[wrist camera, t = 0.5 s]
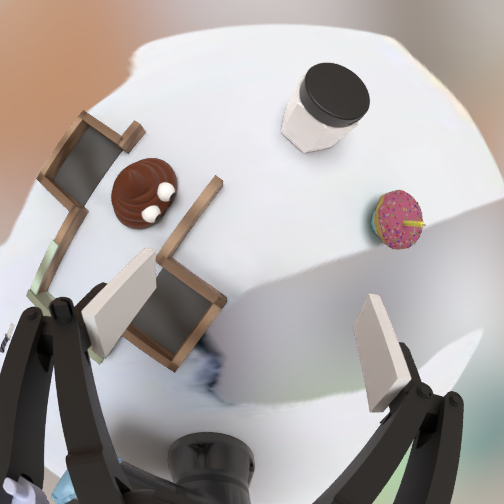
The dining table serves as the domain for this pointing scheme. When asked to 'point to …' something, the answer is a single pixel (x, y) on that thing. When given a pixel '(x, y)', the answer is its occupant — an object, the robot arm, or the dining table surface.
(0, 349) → the knife
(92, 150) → the box
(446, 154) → the dining table surface
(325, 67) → the jar
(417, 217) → the cupcake
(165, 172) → the poop emoji
